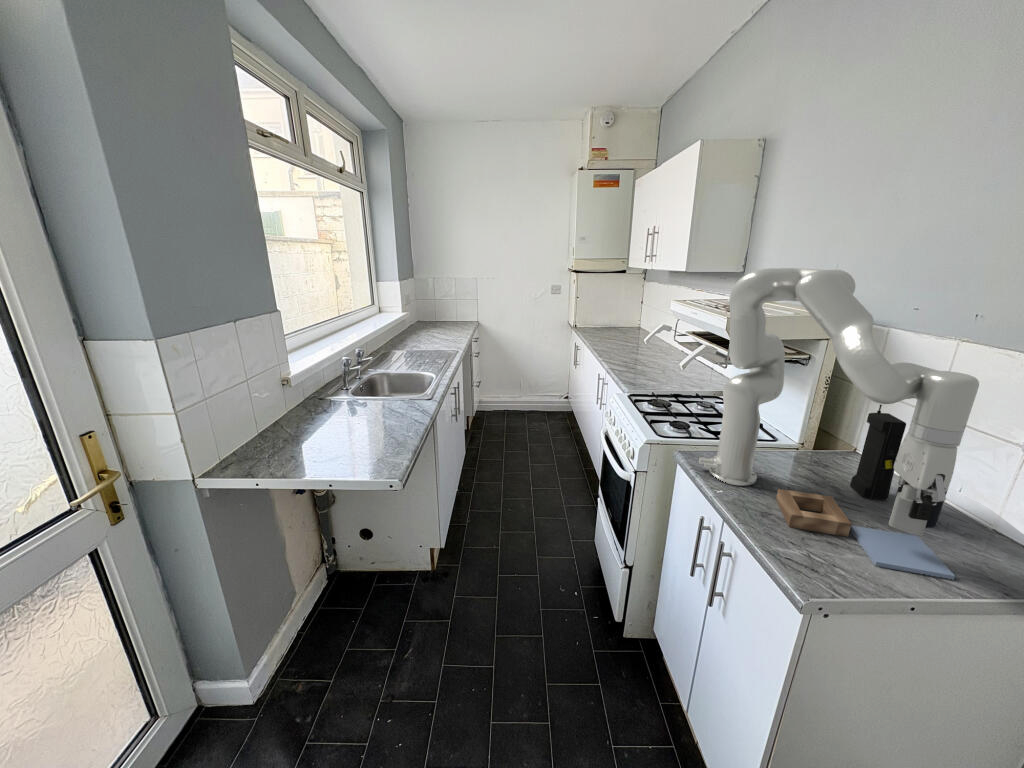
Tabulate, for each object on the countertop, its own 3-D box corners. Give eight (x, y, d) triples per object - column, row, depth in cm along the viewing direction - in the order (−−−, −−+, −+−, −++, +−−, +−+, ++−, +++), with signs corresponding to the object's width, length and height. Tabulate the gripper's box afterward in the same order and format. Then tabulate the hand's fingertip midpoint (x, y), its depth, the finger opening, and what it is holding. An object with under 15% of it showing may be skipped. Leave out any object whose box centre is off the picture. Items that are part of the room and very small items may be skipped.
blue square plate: (875, 565, 87) (876, 561, 87) (849, 528, 99) (850, 525, 98) (953, 580, 83) (955, 575, 83) (916, 539, 95) (918, 536, 94)
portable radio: (891, 503, 108) (918, 415, 101) (865, 501, 110) (889, 414, 102) (873, 487, 116) (896, 404, 108) (848, 485, 117) (870, 403, 110)
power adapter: (890, 519, 92) (904, 471, 88) (923, 530, 88) (939, 480, 84) (887, 525, 90) (902, 476, 86) (922, 536, 86) (938, 486, 82)
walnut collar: (788, 526, 100) (791, 514, 99) (775, 500, 111) (778, 488, 109) (847, 536, 96) (851, 523, 95) (828, 508, 107) (831, 496, 106)
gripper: (890, 416, 91) (870, 488, 96) (937, 448, 76) (910, 531, 81) (932, 419, 89) (910, 493, 94) (990, 453, 73) (959, 539, 79)
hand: (910, 510), depth 87 cm, fingers closed on power adapter, 4 cm apart
